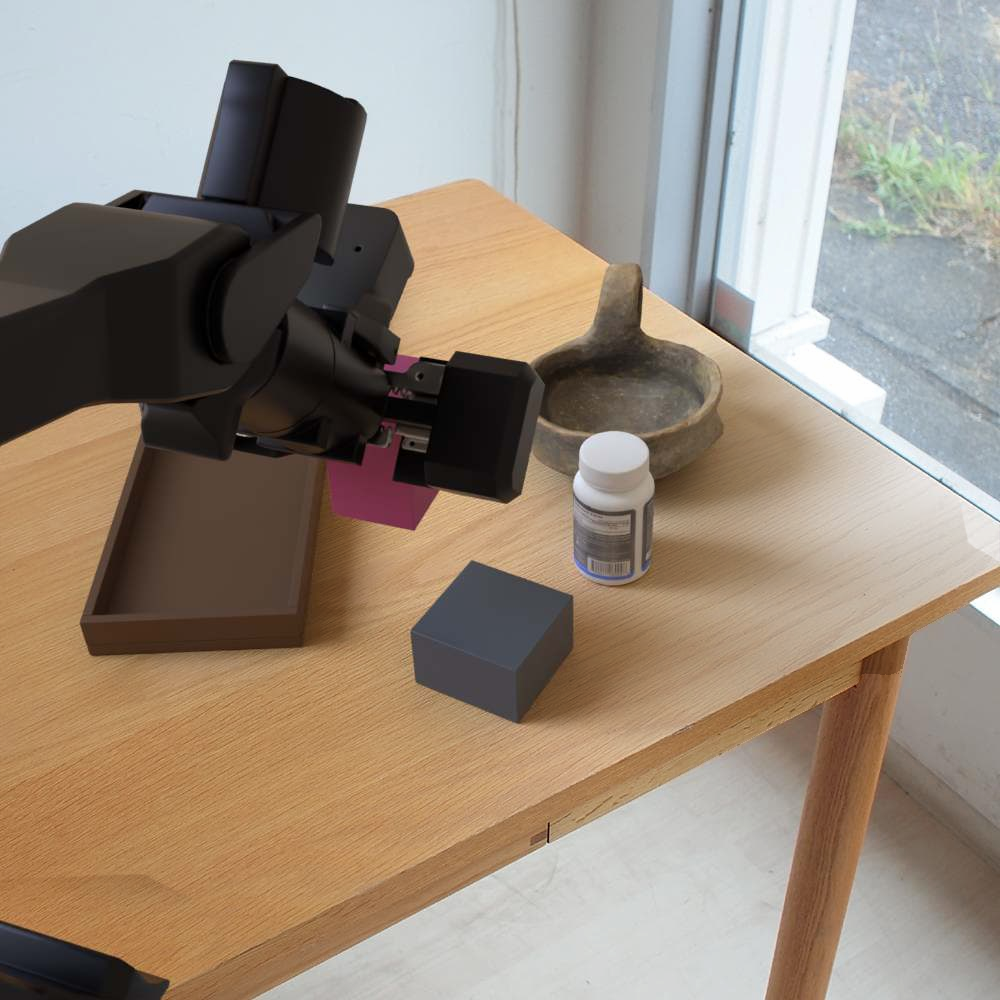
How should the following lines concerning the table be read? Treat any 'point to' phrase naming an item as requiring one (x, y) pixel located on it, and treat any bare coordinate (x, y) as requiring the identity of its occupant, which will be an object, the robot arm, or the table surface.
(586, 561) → the pill bottle
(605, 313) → the bowl
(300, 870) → the table surface
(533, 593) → the slate block
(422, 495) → the mulberry block
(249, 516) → the tray
